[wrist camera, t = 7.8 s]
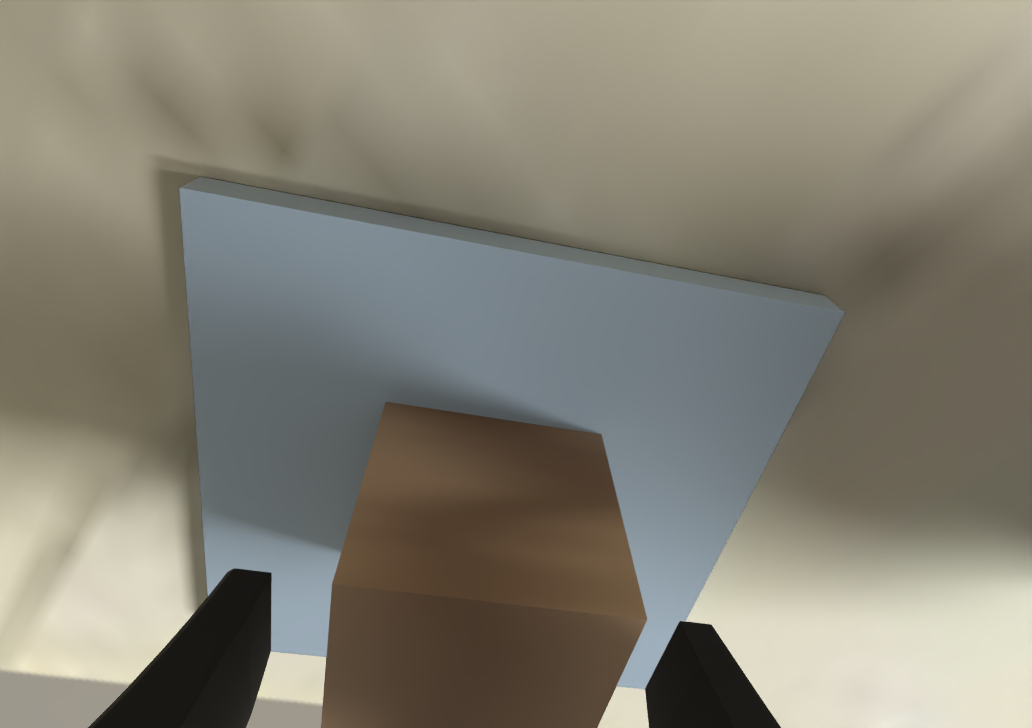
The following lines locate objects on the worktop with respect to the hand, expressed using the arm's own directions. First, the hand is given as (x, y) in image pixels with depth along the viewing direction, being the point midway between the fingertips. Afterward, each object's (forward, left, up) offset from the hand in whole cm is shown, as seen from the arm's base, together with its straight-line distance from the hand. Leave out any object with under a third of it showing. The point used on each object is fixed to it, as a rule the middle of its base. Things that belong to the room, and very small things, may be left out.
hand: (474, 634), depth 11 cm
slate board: (0, 0, -4) cm, 4 cm away
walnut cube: (0, 0, -3) cm, 3 cm away
